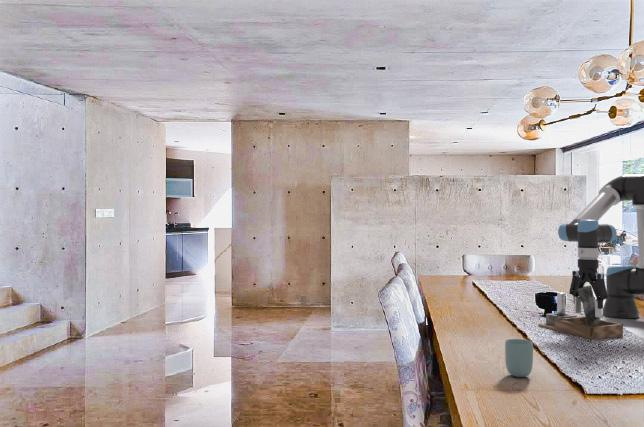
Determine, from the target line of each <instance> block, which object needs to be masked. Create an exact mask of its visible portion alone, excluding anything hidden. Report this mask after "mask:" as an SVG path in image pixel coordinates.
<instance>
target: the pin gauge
mask: <svg viewBox="0 0 644 427" xmlns="http://www.w3.org/2000/svg"><path fill="white" fill-rule="evenodd" d="M556 294H557V295H556V296H557V297H556V301H557V302H556V304H557V305H556V313H557V315H558V316H565V313H566V296H567V295H566V293H565V292H557V293H556Z"/></svg>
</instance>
